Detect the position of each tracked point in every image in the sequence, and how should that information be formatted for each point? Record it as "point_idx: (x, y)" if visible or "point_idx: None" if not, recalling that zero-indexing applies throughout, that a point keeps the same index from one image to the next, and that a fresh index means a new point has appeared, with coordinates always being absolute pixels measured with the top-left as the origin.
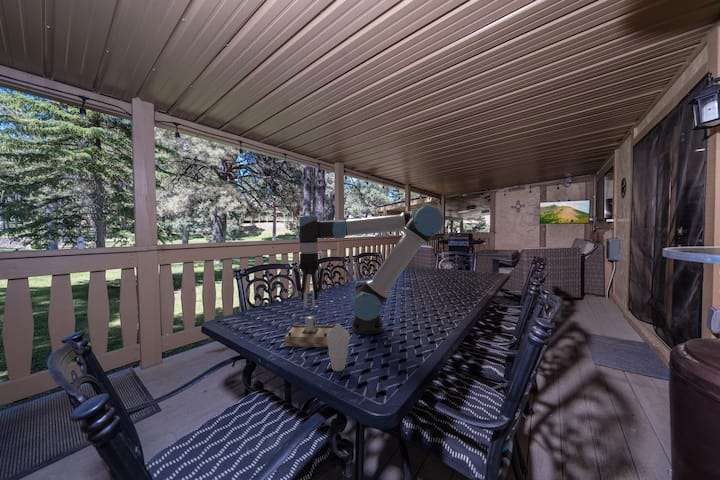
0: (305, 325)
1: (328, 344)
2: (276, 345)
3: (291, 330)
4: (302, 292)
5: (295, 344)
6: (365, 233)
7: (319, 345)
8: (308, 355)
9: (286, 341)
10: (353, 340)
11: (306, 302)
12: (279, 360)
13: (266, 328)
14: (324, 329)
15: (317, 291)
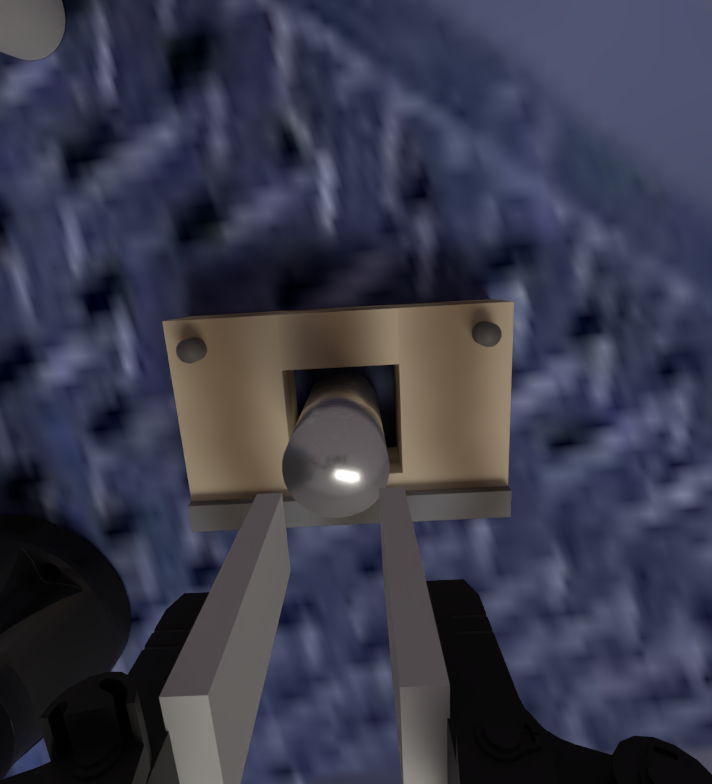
0: (378, 418)
1: None
2: (553, 302)
3: (498, 421)
4: (487, 698)
5: (419, 303)
6: None
7: (251, 313)
8: (285, 177)
9: (490, 300)
10: (61, 429)
11: (384, 571)
12: (458, 78)
13: (709, 552)
14: (243, 464)
15: (59, 768)
